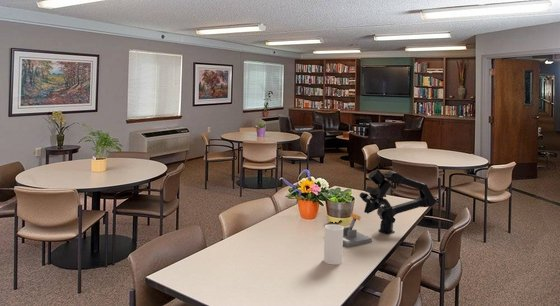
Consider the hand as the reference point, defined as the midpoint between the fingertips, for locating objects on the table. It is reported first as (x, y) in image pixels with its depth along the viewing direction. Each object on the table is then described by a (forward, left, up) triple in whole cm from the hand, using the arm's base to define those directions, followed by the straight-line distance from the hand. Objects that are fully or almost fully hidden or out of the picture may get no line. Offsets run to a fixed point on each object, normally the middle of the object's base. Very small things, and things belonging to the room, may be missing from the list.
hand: (365, 212), depth 228 cm
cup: (+38, +19, -13) cm, 44 cm away
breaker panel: (+12, 0, -13) cm, 17 cm away
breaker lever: (+12, 0, -9) cm, 15 cm away
